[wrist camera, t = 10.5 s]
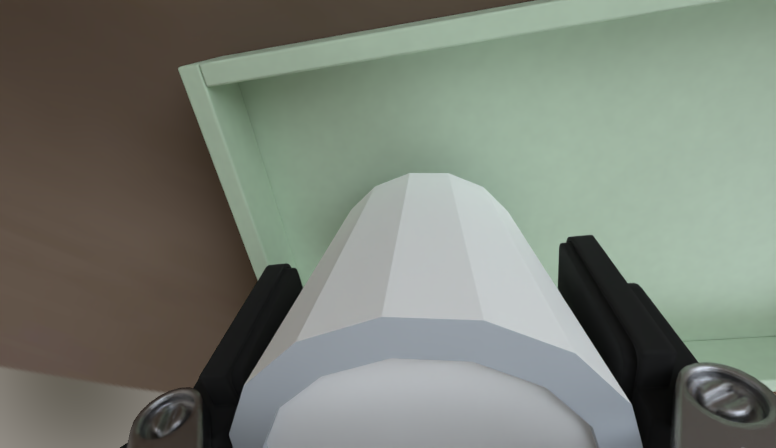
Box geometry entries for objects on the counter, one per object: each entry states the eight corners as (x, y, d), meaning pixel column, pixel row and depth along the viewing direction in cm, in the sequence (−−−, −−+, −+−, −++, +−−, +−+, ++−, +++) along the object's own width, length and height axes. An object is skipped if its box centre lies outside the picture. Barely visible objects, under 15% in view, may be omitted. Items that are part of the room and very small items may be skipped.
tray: (1052, -92, 10) (1240, -121, 7) (852, 332, 16) (922, 386, 13) (219, 56, 13) (175, 67, 10) (319, 362, 19) (305, 410, 16)
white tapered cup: (589, 231, 12) (756, 464, 6) (450, 363, 15) (466, 609, 9) (394, 101, 11) (351, 229, 5) (285, 275, 14) (172, 491, 8)
